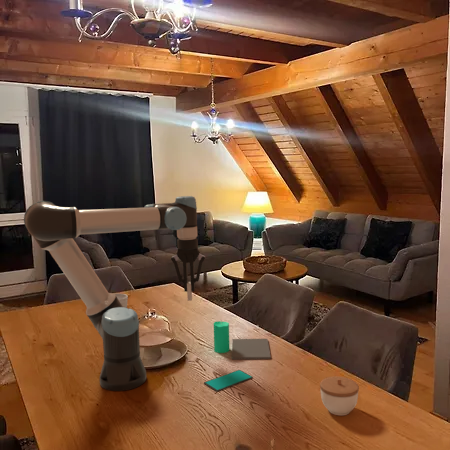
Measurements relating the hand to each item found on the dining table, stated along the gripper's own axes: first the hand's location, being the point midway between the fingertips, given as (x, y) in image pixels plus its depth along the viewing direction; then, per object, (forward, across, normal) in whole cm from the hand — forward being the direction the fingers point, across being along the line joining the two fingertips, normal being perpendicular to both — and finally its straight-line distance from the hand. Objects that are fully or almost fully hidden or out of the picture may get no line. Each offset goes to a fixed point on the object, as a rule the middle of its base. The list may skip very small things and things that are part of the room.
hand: (189, 299), depth 181 cm
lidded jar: (+20, -46, +45) cm, 68 cm away
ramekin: (+20, +42, -51) cm, 69 cm away
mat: (+20, -22, 0) cm, 30 cm away
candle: (+20, -12, 0) cm, 23 cm away
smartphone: (+21, -14, +26) cm, 36 cm away
